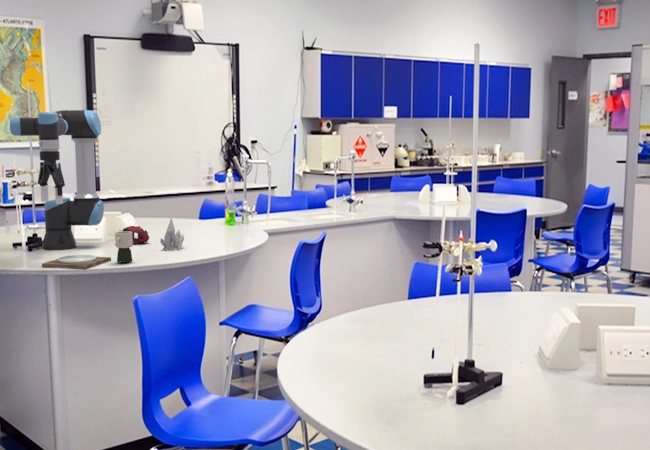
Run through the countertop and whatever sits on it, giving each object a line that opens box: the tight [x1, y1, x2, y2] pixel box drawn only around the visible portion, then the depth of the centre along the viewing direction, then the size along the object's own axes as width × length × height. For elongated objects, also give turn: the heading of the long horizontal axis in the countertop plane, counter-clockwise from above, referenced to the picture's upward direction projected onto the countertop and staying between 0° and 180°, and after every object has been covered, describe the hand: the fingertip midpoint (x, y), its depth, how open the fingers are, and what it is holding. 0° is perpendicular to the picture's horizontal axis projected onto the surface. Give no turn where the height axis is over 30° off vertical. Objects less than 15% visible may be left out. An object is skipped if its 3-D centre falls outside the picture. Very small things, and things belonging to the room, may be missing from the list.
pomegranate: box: [117, 225, 150, 245], centre depth 368 cm, size 15×13×9 cm
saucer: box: [57, 254, 97, 264], centre depth 313 cm, size 15×15×1 cm
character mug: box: [114, 230, 134, 264], centre depth 315 cm, size 11×7×13 cm, turn 163°
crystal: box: [159, 217, 185, 252], centre depth 350 cm, size 10×13×15 cm
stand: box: [41, 256, 112, 270], centre depth 313 cm, size 20×20×2 cm
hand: (52, 202), depth 305 cm, fingers open, 13 cm apart
